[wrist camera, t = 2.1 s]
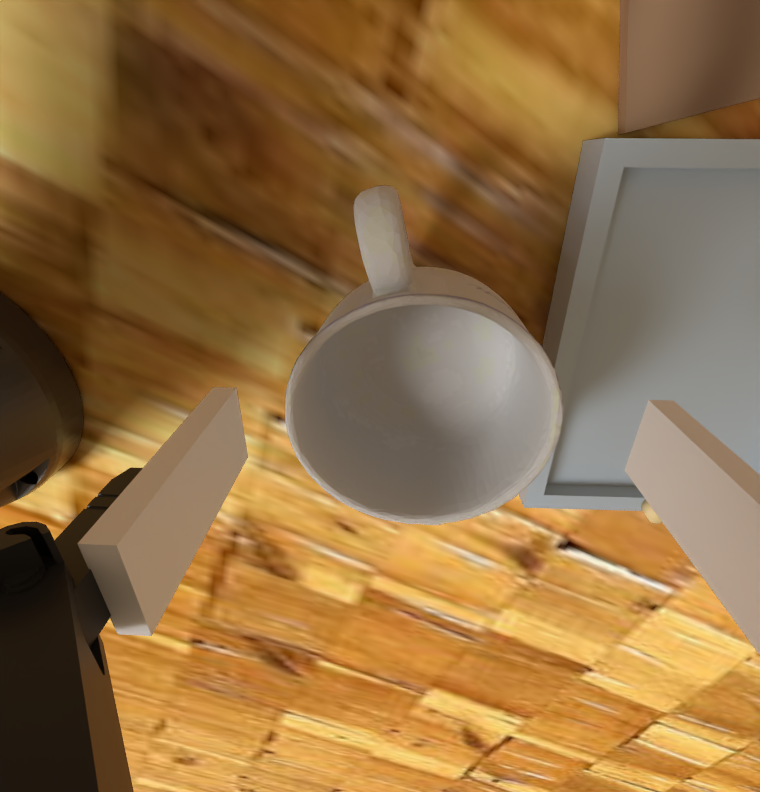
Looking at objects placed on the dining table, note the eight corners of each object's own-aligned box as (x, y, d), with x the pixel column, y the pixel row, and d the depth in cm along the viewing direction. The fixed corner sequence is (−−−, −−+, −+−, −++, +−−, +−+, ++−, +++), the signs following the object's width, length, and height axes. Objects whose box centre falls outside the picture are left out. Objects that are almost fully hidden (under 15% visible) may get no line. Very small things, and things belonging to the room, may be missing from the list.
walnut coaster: (612, 134, 19) (625, 133, 18) (615, -81, 16) (631, -99, 15) (785, 89, 18) (810, 85, 17) (826, -150, 15) (859, -174, 14)
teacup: (503, 433, 26) (542, 533, 19) (324, 435, 26) (299, 533, 19) (533, 174, 19) (612, 179, 12) (296, 183, 20) (241, 193, 13)
